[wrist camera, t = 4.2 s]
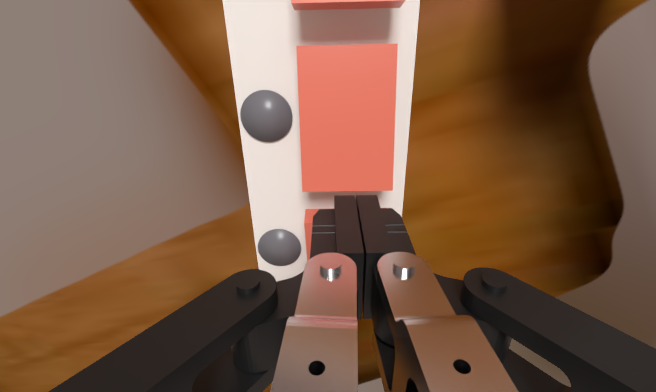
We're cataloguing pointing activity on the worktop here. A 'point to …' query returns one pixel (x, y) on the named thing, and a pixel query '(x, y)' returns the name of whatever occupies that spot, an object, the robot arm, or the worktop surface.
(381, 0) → the rocker
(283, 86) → the power strip
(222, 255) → the worktop surface
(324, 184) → the rocker middle
